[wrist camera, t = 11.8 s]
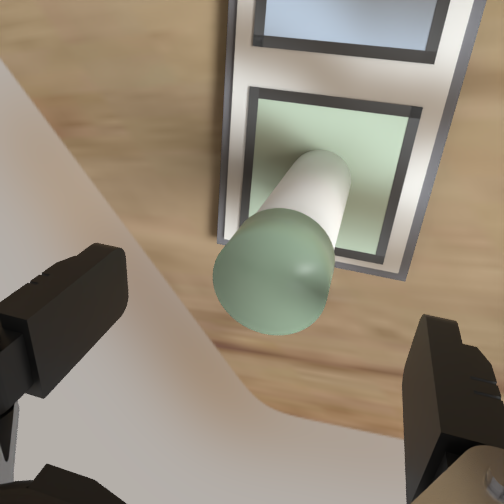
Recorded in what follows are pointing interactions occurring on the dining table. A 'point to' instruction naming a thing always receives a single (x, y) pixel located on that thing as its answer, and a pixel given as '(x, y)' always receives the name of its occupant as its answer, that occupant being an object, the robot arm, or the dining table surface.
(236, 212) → the picture board
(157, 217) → the dining table surface
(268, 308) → the marker
